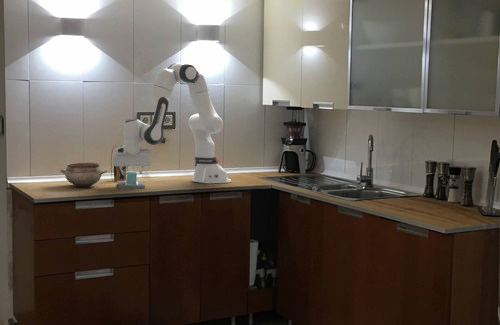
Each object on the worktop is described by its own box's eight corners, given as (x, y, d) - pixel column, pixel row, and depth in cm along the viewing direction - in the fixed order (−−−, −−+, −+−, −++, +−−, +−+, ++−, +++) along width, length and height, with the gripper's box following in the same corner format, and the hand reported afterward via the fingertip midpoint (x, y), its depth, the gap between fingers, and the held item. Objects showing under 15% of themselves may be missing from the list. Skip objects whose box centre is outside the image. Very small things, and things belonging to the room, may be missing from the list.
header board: (143, 183, 378) (144, 173, 378) (144, 188, 361) (144, 178, 360) (118, 183, 376) (118, 173, 375) (118, 188, 358) (118, 178, 357)
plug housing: (136, 181, 374) (136, 170, 373) (136, 184, 363) (136, 173, 362) (126, 181, 373) (126, 170, 372) (126, 184, 362) (126, 173, 361)
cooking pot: (110, 184, 372) (110, 162, 370) (103, 189, 353) (103, 166, 351) (64, 183, 371) (64, 161, 370) (55, 188, 353) (54, 165, 351)
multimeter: (120, 183, 376) (120, 147, 374) (108, 181, 382) (108, 146, 380) (140, 181, 388) (140, 146, 386) (128, 179, 394) (128, 144, 392)
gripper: (151, 148, 371) (151, 173, 373) (112, 148, 367) (113, 173, 369) (151, 149, 365) (151, 174, 366) (112, 149, 361) (112, 175, 363)
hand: (131, 174), depth 368 cm, fingers open, 8 cm apart
